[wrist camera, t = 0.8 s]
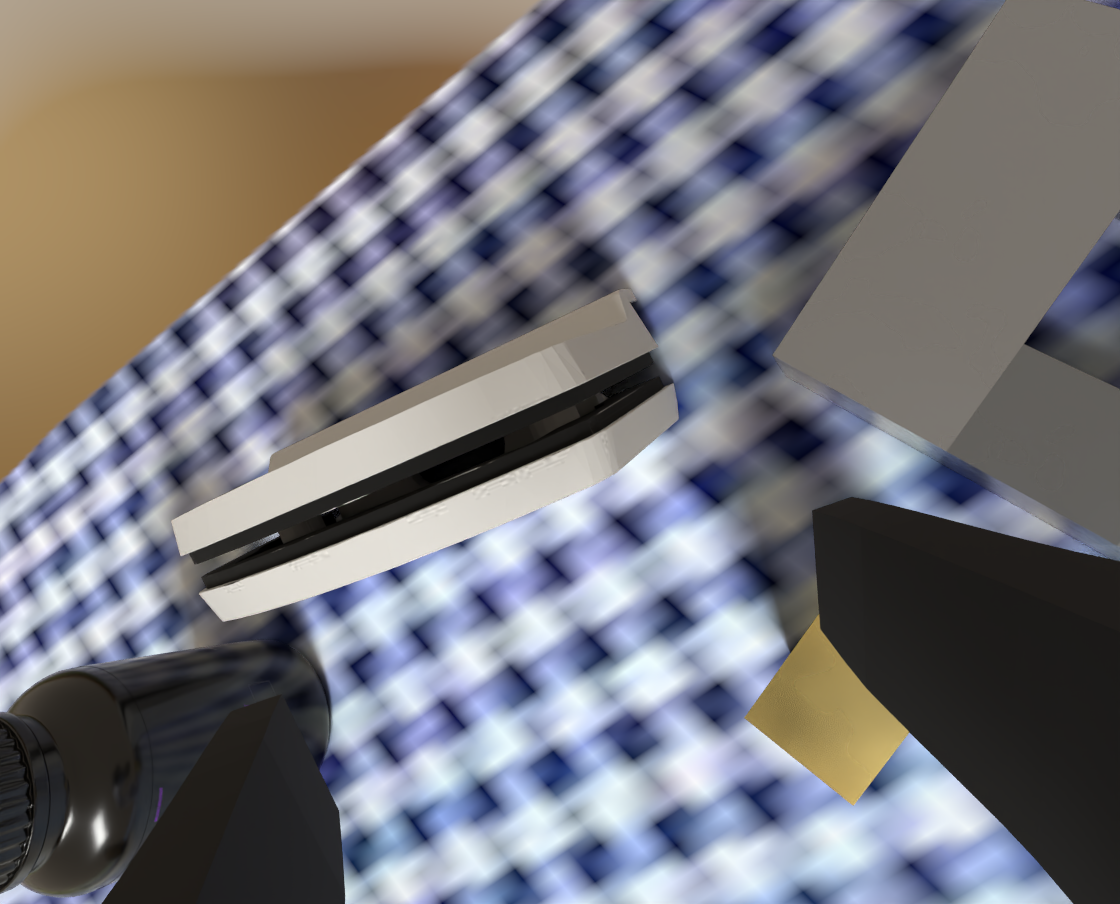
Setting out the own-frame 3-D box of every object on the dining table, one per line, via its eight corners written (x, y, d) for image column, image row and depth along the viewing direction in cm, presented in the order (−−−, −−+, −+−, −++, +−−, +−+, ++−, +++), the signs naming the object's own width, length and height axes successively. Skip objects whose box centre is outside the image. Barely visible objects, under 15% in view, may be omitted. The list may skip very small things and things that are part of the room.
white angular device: (640, 283, 25) (554, 284, 15) (692, 407, 25) (638, 481, 16) (291, 448, 31) (77, 520, 21) (338, 546, 31) (148, 658, 22)
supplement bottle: (361, 763, 28) (21, 917, 17) (247, 829, 30) (-121, 1004, 19) (300, 605, 30) (-38, 650, 19) (197, 677, 32) (-160, 755, 21)
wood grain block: (929, 618, 20) (957, 670, 13) (863, 707, 20) (853, 805, 13) (852, 567, 21) (836, 588, 14) (790, 653, 21) (744, 718, 14)
